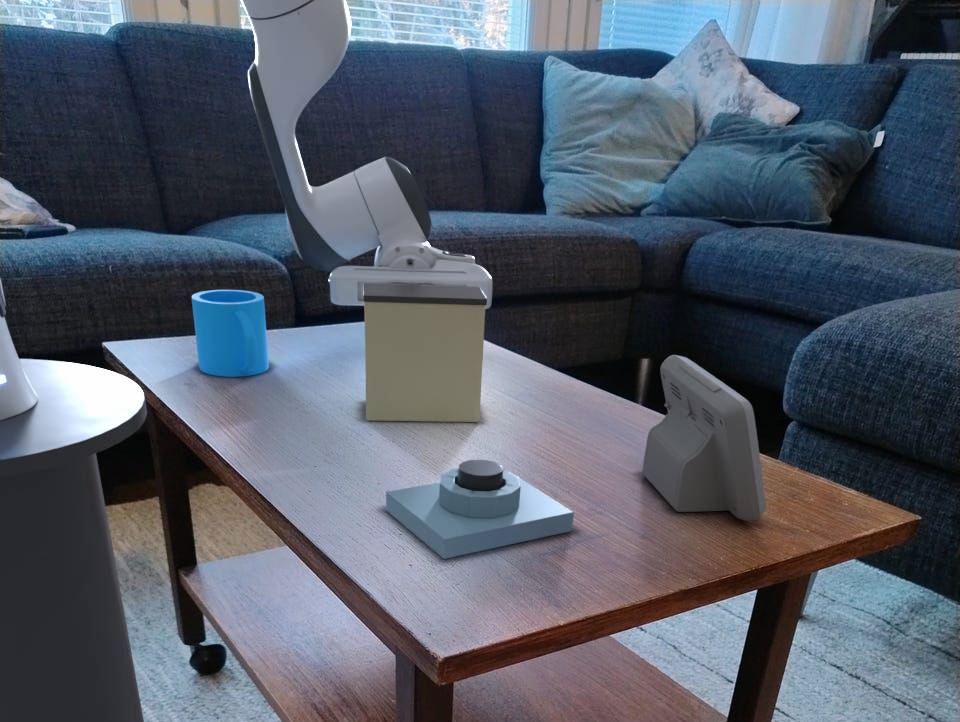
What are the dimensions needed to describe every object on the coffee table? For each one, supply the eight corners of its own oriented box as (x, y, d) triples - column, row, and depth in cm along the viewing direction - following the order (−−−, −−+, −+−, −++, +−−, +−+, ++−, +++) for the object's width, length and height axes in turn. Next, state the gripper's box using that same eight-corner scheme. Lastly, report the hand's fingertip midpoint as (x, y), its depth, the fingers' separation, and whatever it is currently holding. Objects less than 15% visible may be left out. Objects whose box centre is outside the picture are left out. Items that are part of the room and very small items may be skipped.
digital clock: (767, 531, 76) (797, 406, 70) (660, 525, 76) (681, 400, 70) (725, 462, 90) (747, 353, 84) (634, 457, 89) (650, 348, 84)
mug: (190, 361, 110) (182, 291, 106) (255, 356, 114) (250, 288, 110) (220, 388, 102) (213, 313, 97) (290, 381, 105) (285, 308, 101)
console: (480, 422, 96) (487, 299, 90) (365, 421, 95) (363, 295, 88) (474, 404, 101) (479, 286, 95) (364, 403, 100) (363, 283, 93)
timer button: (471, 497, 71) (472, 478, 70) (449, 481, 73) (450, 463, 73) (510, 490, 72) (511, 471, 72) (487, 474, 75) (488, 456, 74)
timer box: (443, 559, 68) (445, 516, 66) (385, 510, 75) (385, 470, 74) (572, 531, 74) (576, 491, 72) (506, 488, 81) (509, 450, 79)
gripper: (328, 250, 116) (324, 269, 104) (485, 255, 118) (499, 275, 107) (329, 301, 119) (326, 326, 108) (483, 305, 122) (496, 330, 110)
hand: (414, 300), depth 107 cm, fingers closed
